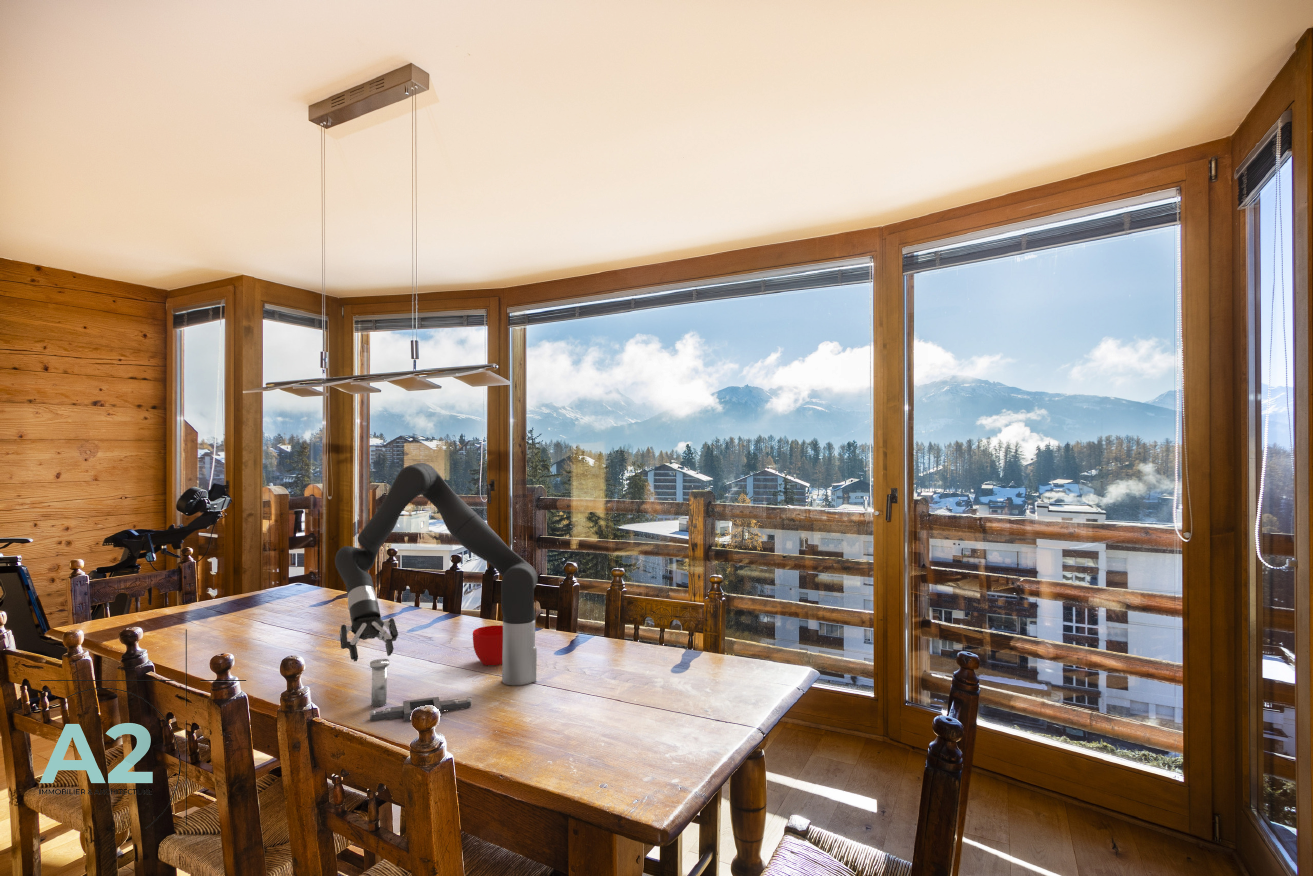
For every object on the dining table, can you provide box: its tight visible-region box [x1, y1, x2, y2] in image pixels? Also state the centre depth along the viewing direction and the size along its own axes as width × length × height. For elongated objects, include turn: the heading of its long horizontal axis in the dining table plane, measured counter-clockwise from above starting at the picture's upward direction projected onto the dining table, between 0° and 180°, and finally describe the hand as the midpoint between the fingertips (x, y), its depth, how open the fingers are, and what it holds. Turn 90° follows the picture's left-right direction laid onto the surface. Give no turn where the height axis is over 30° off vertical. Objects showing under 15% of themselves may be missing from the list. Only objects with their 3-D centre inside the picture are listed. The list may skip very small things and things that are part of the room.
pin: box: [369, 658, 390, 708], centre depth 167 cm, size 5×5×11 cm
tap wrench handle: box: [369, 696, 472, 723], centre depth 162 cm, size 24×9×2 cm, turn 113°
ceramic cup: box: [472, 624, 503, 666], centre depth 202 cm, size 13×17×10 cm
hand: (373, 657), depth 173 cm, fingers open, 8 cm apart
